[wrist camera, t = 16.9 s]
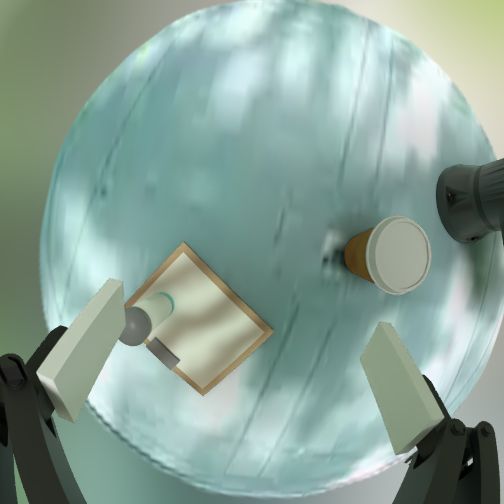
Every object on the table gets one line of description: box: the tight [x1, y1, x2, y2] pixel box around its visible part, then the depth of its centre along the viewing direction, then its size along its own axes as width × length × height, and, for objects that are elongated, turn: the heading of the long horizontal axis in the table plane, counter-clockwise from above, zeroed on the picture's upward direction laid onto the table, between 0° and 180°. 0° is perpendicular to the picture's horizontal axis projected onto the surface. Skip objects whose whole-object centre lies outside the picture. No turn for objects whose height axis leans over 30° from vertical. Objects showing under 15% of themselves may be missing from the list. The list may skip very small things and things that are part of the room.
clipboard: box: [124, 242, 274, 396], centre depth 38 cm, size 18×15×2 cm
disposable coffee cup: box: [344, 216, 431, 295], centre depth 35 cm, size 10×10×12 cm
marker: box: [118, 292, 174, 346], centre depth 31 cm, size 4×4×13 cm
